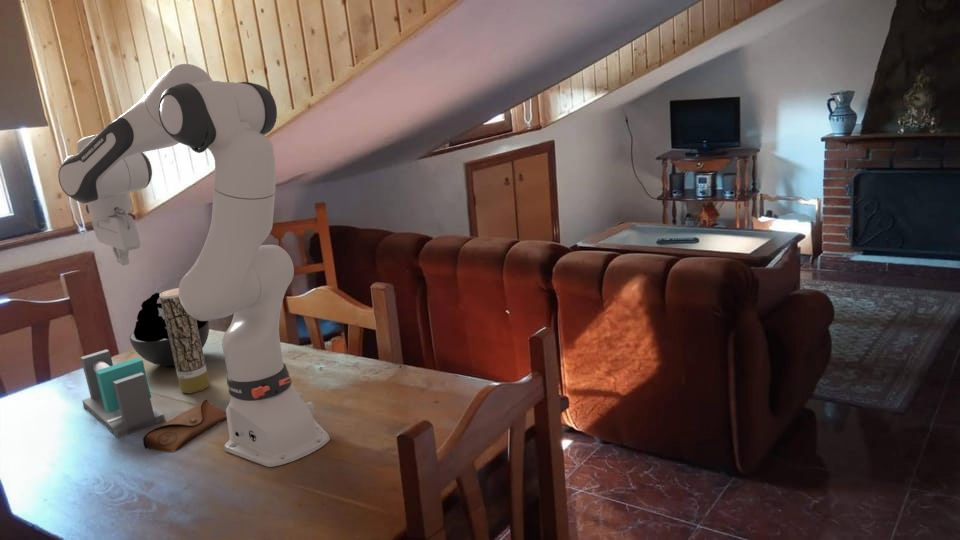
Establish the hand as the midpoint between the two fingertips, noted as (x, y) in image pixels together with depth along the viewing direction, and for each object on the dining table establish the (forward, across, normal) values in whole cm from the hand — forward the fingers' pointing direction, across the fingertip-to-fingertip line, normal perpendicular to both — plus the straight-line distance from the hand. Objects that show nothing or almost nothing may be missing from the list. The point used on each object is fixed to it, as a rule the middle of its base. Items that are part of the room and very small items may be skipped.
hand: (123, 264), depth 173 cm
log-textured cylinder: (+33, -6, -8) cm, 35 cm away
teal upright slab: (+29, -12, +9) cm, 32 cm away
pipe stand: (+33, -5, +9) cm, 35 cm away
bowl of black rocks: (+33, +16, -12) cm, 39 cm away
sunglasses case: (+34, -28, +2) cm, 44 cm away
